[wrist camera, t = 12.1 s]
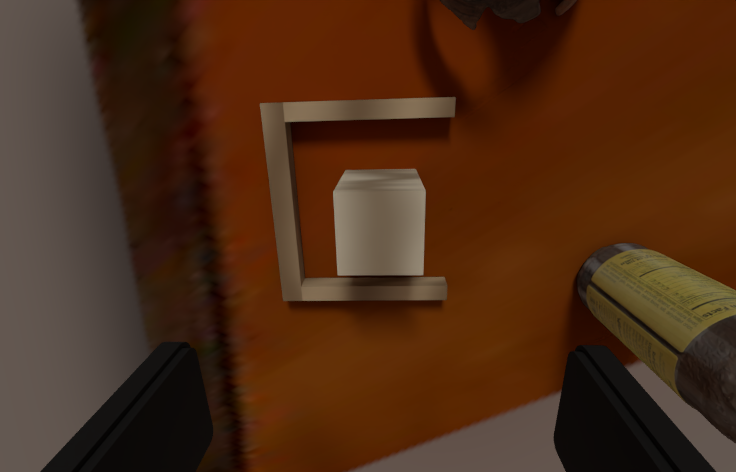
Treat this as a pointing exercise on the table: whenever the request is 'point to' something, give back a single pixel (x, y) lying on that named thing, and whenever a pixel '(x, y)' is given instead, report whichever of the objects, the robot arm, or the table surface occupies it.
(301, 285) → the oak bay
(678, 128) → the table surface
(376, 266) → the birch block
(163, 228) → the table surface
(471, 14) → the broken clay pot rim
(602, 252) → the sauce bottle
